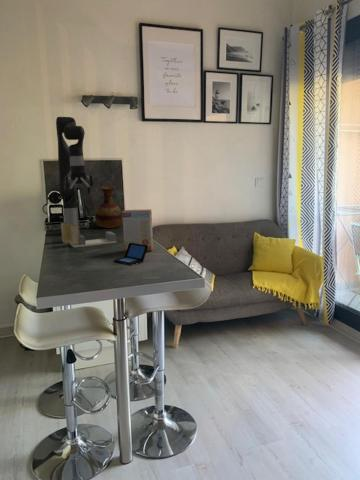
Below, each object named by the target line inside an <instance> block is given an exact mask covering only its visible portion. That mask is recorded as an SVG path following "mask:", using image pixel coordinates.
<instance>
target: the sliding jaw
mask: <svg viewBox="0 0 360 480" xmlns="http://www.w3.org/2000/svg"><path fill="white" fill-rule="evenodd" d="M70 231H71V243H72V244H73V245H74V244H80V245H83V244H86V243H85V241H86V237H85V236H84V235H83V234H81V233H79V234H78V226H77V225H70Z"/></svg>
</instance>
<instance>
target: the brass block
mask: <svg viewBox="0 0 360 480" xmlns="http://www.w3.org/2000/svg"><path fill="white" fill-rule="evenodd" d="M70 225H71V223H64V222H61V223H60V230H61V241H62V242H63V244H67V243H70V242H71V231H70Z"/></svg>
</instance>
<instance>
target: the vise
mask: <svg viewBox="0 0 360 480" xmlns="http://www.w3.org/2000/svg"><path fill="white" fill-rule="evenodd" d="M104 234H105V238H97V239H87V240H86V239H85V243H86V244H83V245H80V244H74V245H73V244H72V243H71V242H69V244H70V246H71V247H72V248H81V247H90V246H91V247H92V246H98V245H99V246H100V245H108V244H116V243H117V234H116V233H115V232H112V231H105V232H104ZM117 244H118V243H117Z"/></svg>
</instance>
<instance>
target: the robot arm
mask: <svg viewBox="0 0 360 480" xmlns="http://www.w3.org/2000/svg"><path fill="white" fill-rule="evenodd" d="M55 126H56V138H57V159H58V174H59V176H58V177H59V178H58V180H59V181H58V184H59V185H58V193H59V197H60V198H64V199H65V198H71V199H70V200H68V201H66V202H65V203H63V204H62V209H63V210H62V211H63V223H71V225H77V226H78V234H81V233H80V220H79V209H78V191H77V190H78V189H77V185H78V184H84V185H85V186H86V192H87V195H90V193H91V187H93V186H94V183H93V182H94V181H93V176H92V175H91V174H89V175H87V174H86V165H85V159H84V158H85V157H84V149H83V146H84V138H85V129H84V127H83V126H81V125H77V122H76V119H75V118H74V117H71V116H57V117H56V120H55ZM65 139H66V140H68V141H77V142H76V143H74V144H70V145H68V143H67V142H66V140H65ZM69 174H70V176H68V175H69ZM87 179H88V180H89V183H88V182H87V181H86V180H87ZM70 180H72V181H71V182H69V181H70Z"/></svg>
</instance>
